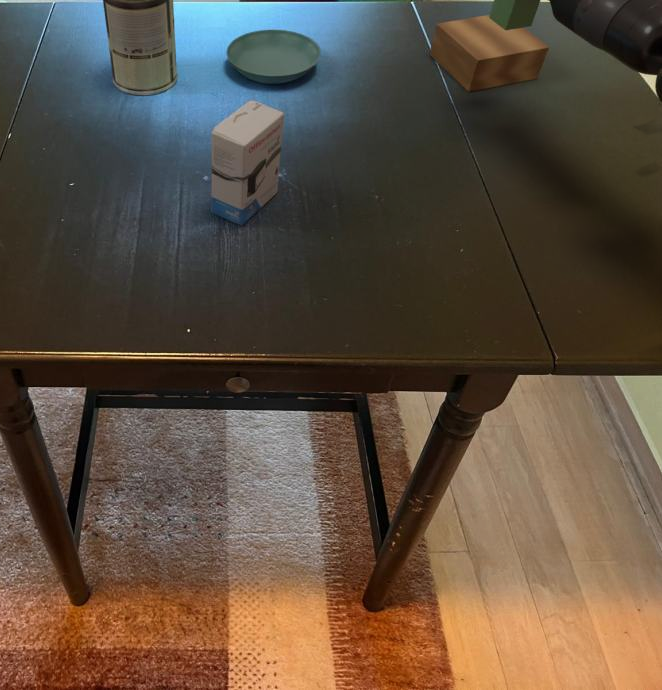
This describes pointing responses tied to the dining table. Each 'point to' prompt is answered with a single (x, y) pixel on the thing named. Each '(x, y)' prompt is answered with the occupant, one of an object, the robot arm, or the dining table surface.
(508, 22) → the toy tower
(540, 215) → the dining table surface
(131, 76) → the coffee can
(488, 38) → the wooden block
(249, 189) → the ink box
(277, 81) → the saucer
